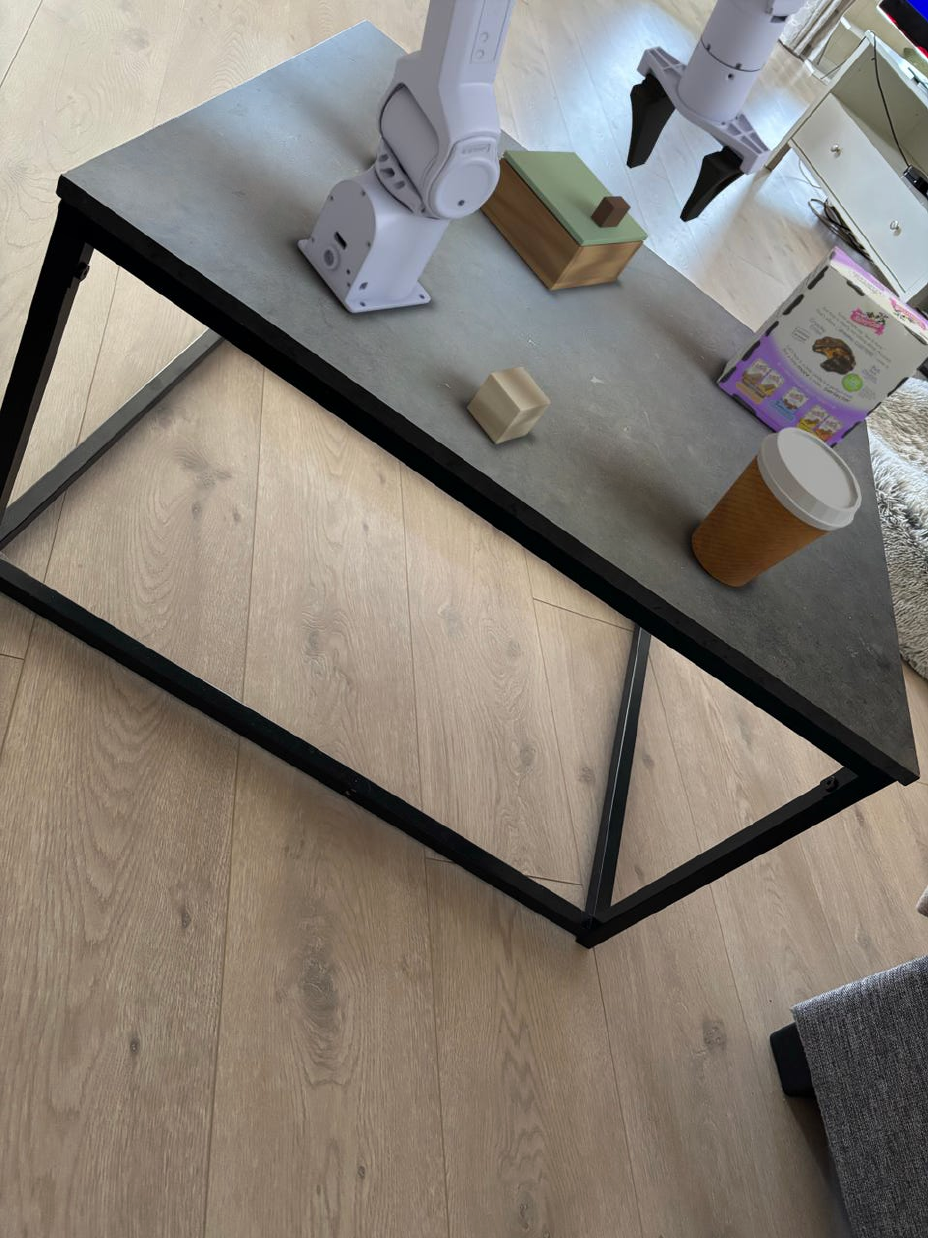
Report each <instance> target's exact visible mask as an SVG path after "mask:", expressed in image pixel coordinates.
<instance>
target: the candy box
mask: <svg viewBox="0 0 928 1238" xmlns="http://www.w3.org/2000/svg"><path fill="white" fill-rule="evenodd" d="M777 307H778V308H776V310H775V311H774V312H773V313H772V314H771V315H770V316H769V317H768V319H766V320H765V321H764V322H763V324H761V326H760V327H759V328H757V330H756V331H755V332H754V334H752V336H750V337H749V339H748V340H747V341H746V342H745V343H744V344H743V345H742V346H741V347H740V349H738V350H737V352H736V353H734V355H733V356H732V357H731V358H730V359H729V360H728V361H727V363H726V365H725V367H724V369H723V370H722V373H721V374H720V376H719V377H718V380H717V382H716V385H717V386H718V387H719V388H720V389H722V391H724V392H725V393H726V394H727V395H729V396H730V397H731V398H733V399H734V400H736V401H737V402H738V403H739V404H741V405H742V407H744V408H746V409H747V410H748V411H749V412H750V413H752V414H753V415H755V416H756V417H757V418H758V419H759V420H761V421H762V422H763V423H764V424H766V425H767V427H770V428H771V429H772V430H773V431H774V432H775V433H778V432H779V431H781V430H783V429H785V428H789V427H793V428H799V429H802V430H805V431H807V432H809V433H811V434H813V435H814V436H816V437H818V438H819V439H821V440H822V441H823V442H825V443H826V444H827V445H828V446H830V447H831V448H832V449H833V450H834V448H835V447H836V446H837V445H838V444H839V443H841V442H842V441H843V439H845V438H846V437H847V436H848V435H849V434H850V433H852V431H854V430H855V428H857V427H858V426H859V425H860V424H861V423H862V422H863V421H865V419H867V418H868V417H869V416H870V415H871V414H872V413H873V412H874V411H875V410H877V409H878V408H879V407H880V406H881V405H882V404H883V403H884V402H886V400H888V398H890V397H891V396H892V395H893V394H894V393H895V392H897V390H898V389H900V388H901V387H902V386H903V385H904V384H905V383H906V382H907V381H908V380H909V379H910V378H911V377H913V376H914V375H915V374H917V372H918V371H919V370H921V368H923V367H924V366H925V365H926V364H927V363H928V320H927V319H926V318H924V316H923V315H921V314H920V313H918V312H917V311H916V310H915V309H914V308H912V307H911V306H910V305H909V304H907V303H906V302H905V301H904V300H902V299H901V298H900V297H899V296H898V295H896V294H895V293H894V292H893V291H892V290H891V289H889V288H888V287H887V286H886V285H884V284H883V283H882V282H880V281H879V280H878V279H877V278H876V277H875V276H873V275H872V274H871V273H870V272H869V271H867V270H866V269H865V268H863V267H862V266H861V265H860V264H858V262H857V261H855V260H854V259H852V258H851V257H850V256H849V255H848V254H846V253H845V252H844V251H843V250H842V249H841V248H840V247H839V246H837V245H835V246H834V247H832V249H830V250H829V252H828V253H826V254H825V256H824V257H823V258H822V259H821V261H820V262H818V264H817V265H816V266H815V267H814V268H813V269H812V270H811V271H810V273H808V274H807V276H806V277H805V278H804V279H803V280H802V281H801V282H800V283H799V284H798V286H796V287H795V289H794V290H793V291H792V292H791V293H790V294H789V296H787V298H785V300H784V301H783V302H782V303H781V304H780V305H779V306H777Z"/></svg>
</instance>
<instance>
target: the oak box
mask: <svg viewBox="0 0 928 1238" xmlns="http://www.w3.org/2000/svg"><path fill="white" fill-rule="evenodd" d="M498 161H499V165H500V175H499V180H498V183H497V185H496V187H495V190H494V191H493V193H492V194H491V196H490V197H489V198H488V200H487V201H486V202H485V203H484V204H483V205H482V206H481V207H480V208H479V209H481V210H482V212H483V213H484V214H485V215H486V216H487V218H488V219H489V220H490V221H491V222H492V224H493V225H494V226H495V227H496V228H497V229H498V231H499V232H500V233H501V234H502V236H504V238H505V239H506V240H507V241H508V243H509V244H510V245H511V246H512V247H513V249H514V250H515V251H516V252H517V253H518V255H520V257H521V258H522V259H523V260H524V262H525V263H526V264H527V265H528V266H529V268H530V269H531V270H532V271H533V273H534V274H535V275H536V276H537V277H538V278H539V279H540V280H541V282H542V283H543V284H544V285H545V287H546V288H547V289H548V290H549V291H556V290H563V289H564V290H565V289H570V288H577V287H587V286H592V285H599V284H607V283H614V282H616V280H617V279H618V278H619V276H620V275H621V274H622V272H623V271H624V270H625V268H626V267H627V266H628V264H629V263H630V262H631V260H632V259H633V258H634V256H635V255H636V253H638V251H639V249H640V248H641V247H642V246H643V244H644V243H645V241H644V240H641V241H630V242H619V243H608V244H596V245H585V246H581V245H580V244H579V243H578V242H577V241H576V239H575V238H574V237H573V236H572V235H571V234H570V233H569V231H568V230H567V229H566V228H565V227H564V226H563V224H562V223H561V222H560V221H559V220H558V219H557V217H556V216H555V215H554V214H553V213H552V212H551V211H550V209H549V208H548V207H547V206H546V205H545V204H544V202H543V201H542V200H541V199H540V198H539V197H538V196H537V194H536V193H535V192H534V191H533V190H532V189H531V187H530V186H529V185H528V184H527V183H526V182H525V180H524V179H523V178H522V177H521V176H520V175H519V174H518V172H517V171H516V170H515V169H514V168H513V167H512V165H511V164H510V163H509V162H508V161H507V160H506V159H505V157H504V156H502V157H500V160H498Z"/></svg>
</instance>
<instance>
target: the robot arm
mask: <svg viewBox="0 0 928 1238" xmlns="http://www.w3.org/2000/svg"><path fill="white" fill-rule="evenodd" d="M516 1H517V0H429V3H428V8H427V15H426V20H425V24H424V29H423V35H422V39H421V46H420V49H419V50H414V51H412V52H410V53H407V54H405V55H403V56H401V57H399V58H398V59H396V62H395V68H394V73H393V77H392V78H391V81H390V84H389V86H388V87H387V89H386V91H385V92H384V94H383V95H382V97H381V99H380V101H379V103H378V105H377V109H376V114H375V123H376V130H377V132H378V133H379V135H380V139H379V141H378V143H377V146H376V148H375V154H376V155H377V156H376V160H375V162H374V163H373V164H372V165H371V166H370V167H369V168H368V169H367V170H366V171H364V172H363V173H361V174H360V175H357V176H354V177H350V178H347V179H343V180H341V181H339V182H338V183H336V184H335V185H334V186H333V187H332V188H331V190H330V191H329V193H328V195H327V198H326V199H325V202H324V204H323V207H322V209H321V211H320V213H319V216H318V217H317V220H316V223H315V225H314V227H313V229H312V232H311V233H310V236H309V238H306V239H300V240H299V241H298V243H297V247H298V249H299V250H300V251H301V252H302V253H303V255H304V256H305V258H306V259H307V260H308V261H309V263H310V264H311V265H312V266H313V268H314V269H315V271H316V272H317V273H318V274H319V276H320V277H321V278H322V280H324V282H325V283H326V284H327V286H328V287H329V288H330V289H331V291H332V293H334V295H335V296H336V297H337V299H338V300H339V301H340V303H342V305H343V306H344V307H345V309H346V310H347V311H348V312H350V313H352V314H357V313H365V312H372V311H380V310H387V309H394V308H395V309H396V308H401V307H402V308H403V307H410V306H416V305H424V304H429V302H430V301H431V296H430V294H429V293H428V292H427V291H426V289H425V288H424V287H423V285H421V283H420V282H419V281H418V280H419V279H420V277H421V275H422V273H423V271H424V269H425V268H426V266H427V264H428V262H429V261H430V259H431V257H432V256H433V253H434V252H435V251H436V248H437V247H438V245H439V243H440V241H441V240H442V237H443V236H444V234H445V232H446V231H447V229H448V227H449V225H450V223H451V221H456V222H457V221H460V220H461V219H462V218H465V217H467V216H470V215H471V214H473V213H474V212H476V211H477V210H479V209H481V208H480V207H481V206H482V205H483V204H484V203H485V202H486V201H487V200H488V198H489V197H490V196H491V194H492V193H493V191H494V190H495V187H496V185H497V183H498V180H499V175H500V165H499V161H500V160H499V158H498V148H499V143H500V139H501V137H502V128H501V122H500V115H499V109H498V104H497V98H496V94H495V87H494V85H495V84H494V83H495V79H496V76H497V73H498V69H499V64H500V61H501V57H502V54H503V50H504V46H505V43H506V38H507V35H508V32H509V27H510V23H511V19H512V15H513V11H514V9H515V4H516ZM807 1H808V0H717V1H716V3H715V5H714V8H713V10H712V11H711V13H710V15H709V18H708V20H707V22H706V24H705V27H704V28H703V31H702V33H701V35H700V37H699V39H698V41H697V43H696V45H695V48H694V49H693V52H692V54H691V56H690V58H689V60H688V63H687V64H686V63H684V62H682V61H681V60H679V59H678V58H676V57H674V56H673V55H671V54H670V53H669V52H668V51H666V50H665V49H663V47H662V46H661V45H659V46H654V47H650V48H646V49H644V51H643V53H642V56H641V58H640V60H639V63H638V65H637V67H636V71H637V72H638V74H639V75H641V77H644V78H643V79H642V80H641V82H640V83H637V84H634V85H633V86H632V88H631V90H630V93H629V97H630V105H631V133H630V140H629V146H628V147H629V148H628V154H627V157H626V164H625V165H626V167H628V168H629V169H634V168H637V167H640V166H643V165H645V164H646V163H647V161H648V160H649V158H650V156H651V155H652V153H653V150H654V148H655V147H656V145H657V142H658V140H659V138H660V135H661V134H662V131H663V130H664V128H665V127H666V125H667V124H668V121H669V120H670V118H671V117H672V115H673V114H674V112H675V111H677V112H678V113H679V114H680V115H681V116H682V117H683V118H685V119H686V121H689V122H690V123H691V124H693V125H695V126H696V127H698V128H700V129H701V130H703V131H705V133H707V134H709V135H710V136H711V137H712V138H713V139H714V140H715V141H716V142H717V143H719V144H720V146H722V149H721V150H720V151H719V150H717V151H714V152H711V153H708V154H705V155H703V158H702V159H701V160H702V161H701V165H700V169H699V173H698V176H697V179H696V182H695V184H694V186H693V189H692V191H691V193H690V195H689V197H688V198H687V200H686V202H685V204H684V206H683V207H682V209H681V213H680V215H679V219H680V220H681V221H682V222H683V223H687V222H690V221H693V220H695V219H698V218H699V217H700V215H701V214H702V213H703V212H704V210H705V209H706V208H707V207H708V206H709V205H710V204H711V203H712V201H713V200H714V199H715V198H717V196H719V195H720V194H721V193H722V192H723V191H725V189H727V187H730V185H732V184H733V183H734V182H736V181H737V180H738V179H740V178H741V177H742V176H744V175H746V176H750V175H753V174H756V173H757V172H760V171H762V170H763V168H764V166H765V164H766V162H767V161H768V159H769V158H770V156H771V155H772V152H773V151H772V150H771V148H770V147H769V146H768V145H767V144H766V143H765V142H764V141H763V140H762V138H761V137H760V135H759V134H758V132H757V130H756V129H755V127H754V126H753V124H752V123H751V121H750V120H749V118H748V117H747V116H746V115H747V114H745V112H744V111H743V109H742V108H743V105H744V103H745V101H747V98H748V96H749V94H750V92H751V91H752V88H753V87H754V85H755V84H756V81H757V80H758V78H759V76H760V74H761V72H762V70H763V69H764V67H765V65H766V63H767V61H768V60H769V57H770V55H771V54H772V52H773V50H774V48H775V47H776V44H777V43H778V41H779V39H780V37H781V35H782V34H783V32H784V30H785V28H786V27H787V24H788V23H789V21H790V18H791V17H792V15H797V14H798V13H799V12H800V10H801V9H802V8H804V7H805V5H806V3H807Z"/></svg>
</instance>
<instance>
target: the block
mask: <svg viewBox="0 0 928 1238" xmlns="http://www.w3.org/2000/svg"><path fill="white" fill-rule="evenodd" d="M551 403H552V401H551V400H550V399H549V398H548V396H547V395H546V394H545V392H544V391H543V390H542V389H541V388H540V387H539V385H538V384H537V383H536V381H534V379H533V378H532V377H531V376H530V374H529V373H528V372H527V371H526V370H525V368H524V367H523V366H522V365H521V366H516V367H512V368H507V369H503V370H498V371H493V372H490V373H489V375H488V376H487V378H486V379H485V381H484V382H483V384H482V385H481V386H480V388H479V389H478V390H477V392H476V394H475V395H474V397H473V398H472V399H471V401H470V403H469V404H468V405H467V407H466V409H467V410H468V412H469V413H470V414H471V416H473V418H474V419H475V420H476V422H477V423H478V424H479V426H480V427H481V428H482V430H483V431H485V433H486V434H487V436H488V437H489V438H490V440H492V442H493V444H495V445H498V444H501V443H505V442H508V441H511V440H515V439H517V438H520V437H524V436H526V435H527V434H528V433H529V432H530V430H531V429H532V428H533V427H534V425H535V424H536V423H537V421H538V420H539V419H540V418H541V416H542V415H543V414H544V412H545V411H546V410H547V409H548V408H549V406H550V405H551Z"/></svg>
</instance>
